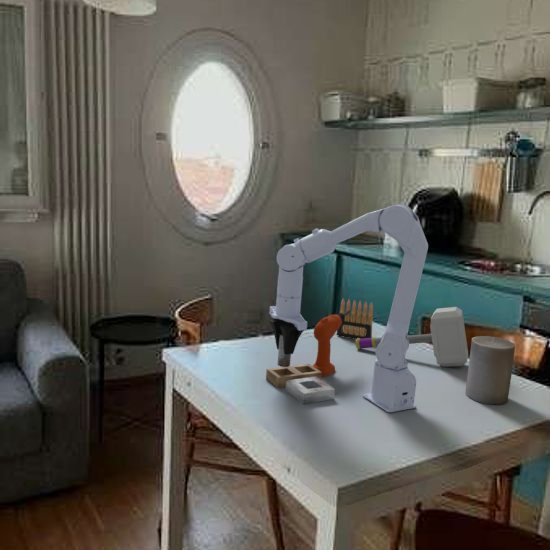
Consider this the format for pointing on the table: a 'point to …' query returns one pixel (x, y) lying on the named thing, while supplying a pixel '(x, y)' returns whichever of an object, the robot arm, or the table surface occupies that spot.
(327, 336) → the toy drill
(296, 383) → the socket block
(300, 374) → the rack
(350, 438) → the table surface
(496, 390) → the pillar candle
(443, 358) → the hammer
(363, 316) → the ammunition clip
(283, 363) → the grey metal cylinder
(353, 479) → the table surface
